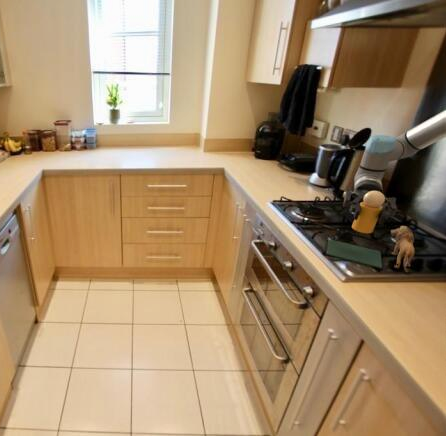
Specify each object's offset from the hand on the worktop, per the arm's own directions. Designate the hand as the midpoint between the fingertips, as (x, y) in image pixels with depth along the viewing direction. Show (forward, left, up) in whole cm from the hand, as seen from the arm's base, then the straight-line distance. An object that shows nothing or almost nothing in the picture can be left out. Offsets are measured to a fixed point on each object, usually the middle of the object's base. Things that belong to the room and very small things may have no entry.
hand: (369, 218), depth 89 cm
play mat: (0, -5, -15) cm, 16 cm away
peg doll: (0, -5, -6) cm, 8 cm away
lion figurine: (-12, -9, -15) cm, 21 cm away
